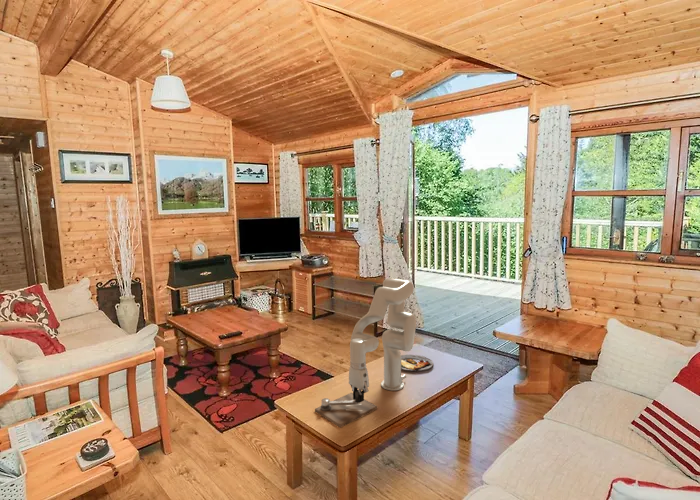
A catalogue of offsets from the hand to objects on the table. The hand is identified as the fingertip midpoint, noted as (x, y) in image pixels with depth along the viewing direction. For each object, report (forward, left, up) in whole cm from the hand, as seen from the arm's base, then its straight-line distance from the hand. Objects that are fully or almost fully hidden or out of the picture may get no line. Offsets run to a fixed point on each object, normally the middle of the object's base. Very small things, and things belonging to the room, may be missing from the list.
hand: (358, 399), depth 199 cm
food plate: (-61, -16, -6) cm, 64 cm away
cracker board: (+5, -4, -6) cm, 8 cm away
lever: (+7, -5, -3) cm, 9 cm away
